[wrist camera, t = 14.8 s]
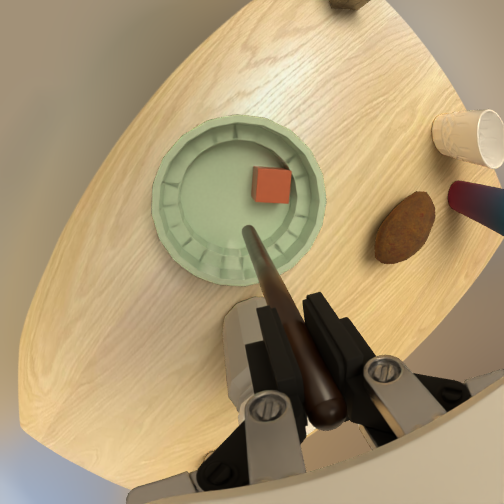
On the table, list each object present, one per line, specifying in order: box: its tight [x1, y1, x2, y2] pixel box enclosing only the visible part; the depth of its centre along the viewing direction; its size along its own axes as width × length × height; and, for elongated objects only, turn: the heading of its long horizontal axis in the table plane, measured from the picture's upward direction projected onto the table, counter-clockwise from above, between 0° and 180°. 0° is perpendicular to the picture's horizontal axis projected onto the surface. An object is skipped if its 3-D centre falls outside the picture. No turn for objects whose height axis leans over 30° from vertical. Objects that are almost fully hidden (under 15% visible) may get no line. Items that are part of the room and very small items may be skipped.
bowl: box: [151, 114, 326, 286], centre depth 31 cm, size 18×18×6 cm
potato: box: [375, 191, 435, 264], centre depth 35 cm, size 7×12×7 cm, turn 146°
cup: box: [448, 181, 504, 236], centre depth 31 cm, size 7×7×15 cm
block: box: [251, 166, 292, 204], centre depth 32 cm, size 4×4×4 cm
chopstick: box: [242, 225, 348, 431], centre depth 16 cm, size 1×1×20 cm
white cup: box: [432, 110, 504, 169], centre depth 30 cm, size 8×8×10 cm
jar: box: [222, 297, 316, 435], centre depth 32 cm, size 10×10×18 cm
